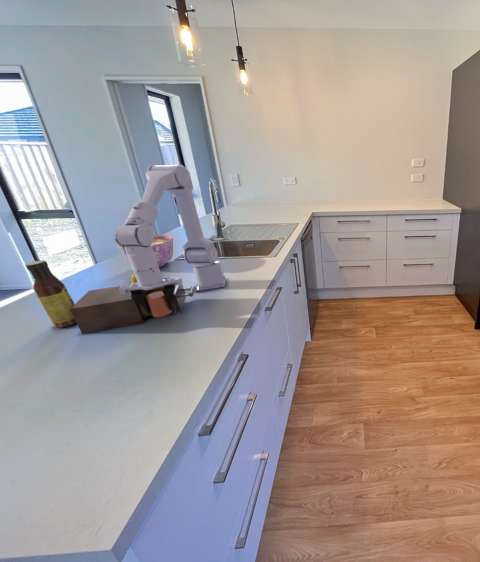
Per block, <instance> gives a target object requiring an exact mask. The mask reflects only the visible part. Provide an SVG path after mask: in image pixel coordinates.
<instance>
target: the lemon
mask: <svg viewBox="0 0 480 562" xmlns="http://www.w3.org/2000/svg"><path fill="white" fill-rule="evenodd" d="M130 280H131V284H132V283H136V282H137V279H136V277H135V274H134V273H133V274H132V275H131V277H130Z"/></svg>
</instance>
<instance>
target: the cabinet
mask: <svg viewBox="0 0 480 562" xmlns="http://www.w3.org/2000/svg"><path fill="white" fill-rule="evenodd" d="M121 286H122V285H118V286H110V287H103V288H98V289H89V290H88V291H87V292H86V293H85V294H84V295H83V296H82V297H81V298H80V299H79V300H78V301H76V303H74V304H75V305H74V306H72V307H71V308H70V310H71V312H72V314H73V316H74V318H75V320H76V322H77V323H76V324H77V326H78V328H79V330H80V333H81V335H83V334H88V333H89V334H90V333H94V332H101V331H106V330H111V329H116V328H121V327H127V326H131V325H136V324H142V323H144V322H145V320H146V318H147V316H144V317H142V315H141V313H140V310H139V308H138V305H137V303H136V301H135V300H133V299H132V298H131V292H129V293H126V294H121V292H120V290H119V288H120V287H121Z"/></svg>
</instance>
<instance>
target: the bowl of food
mask: <svg viewBox="0 0 480 562" xmlns="http://www.w3.org/2000/svg"><path fill="white" fill-rule="evenodd" d="M151 246H152V249H153V252H154V255H155V258H156V261H157V264H158V266H159V268H161V267H164V266H165V265H166V264H168V262H170V261H171V260H172V258H173V256H174V238H173V236H172V235H168V234H156V235H155V234H154V241H153V242H152V244H151ZM117 248H118V249H119V251H120V252H121V254H122V255H123V256H124V258H125V259H126V260H127V262H128V263H129V264H130V265H131V263H130V261H129V258H128V256H127V254H126V253H125V252H123V249H122V247H121V246H119V245H118V244H117Z"/></svg>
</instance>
